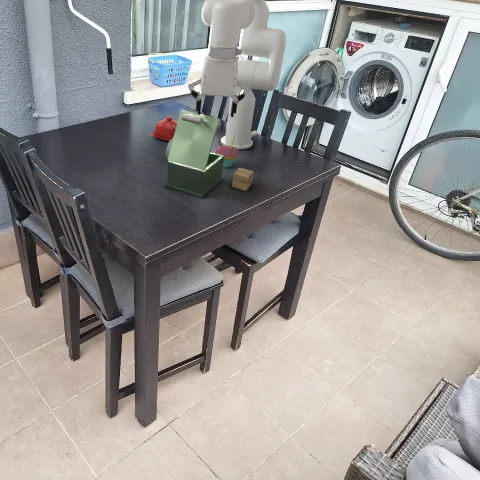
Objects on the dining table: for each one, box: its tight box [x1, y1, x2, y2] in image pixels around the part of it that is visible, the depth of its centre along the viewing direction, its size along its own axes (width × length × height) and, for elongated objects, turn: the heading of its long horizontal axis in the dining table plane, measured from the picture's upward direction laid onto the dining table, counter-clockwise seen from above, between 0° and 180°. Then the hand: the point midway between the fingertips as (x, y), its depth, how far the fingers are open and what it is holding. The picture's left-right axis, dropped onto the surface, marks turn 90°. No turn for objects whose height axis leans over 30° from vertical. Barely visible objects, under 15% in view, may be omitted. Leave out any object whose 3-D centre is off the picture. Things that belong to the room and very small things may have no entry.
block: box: [231, 167, 255, 192], centre depth 146 cm, size 5×5×5 cm
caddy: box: [166, 151, 224, 198], centre depth 145 cm, size 15×13×9 cm
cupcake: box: [214, 135, 240, 168], centre depth 157 cm, size 9×8×12 cm
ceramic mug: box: [165, 139, 173, 160], centre depth 160 cm, size 11×8×8 cm
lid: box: [167, 109, 220, 171], centre depth 133 cm, size 16×13×6 cm
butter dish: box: [149, 115, 178, 142], centre depth 178 cm, size 12×12×8 cm
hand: (215, 114), depth 130 cm, fingers open, 9 cm apart
